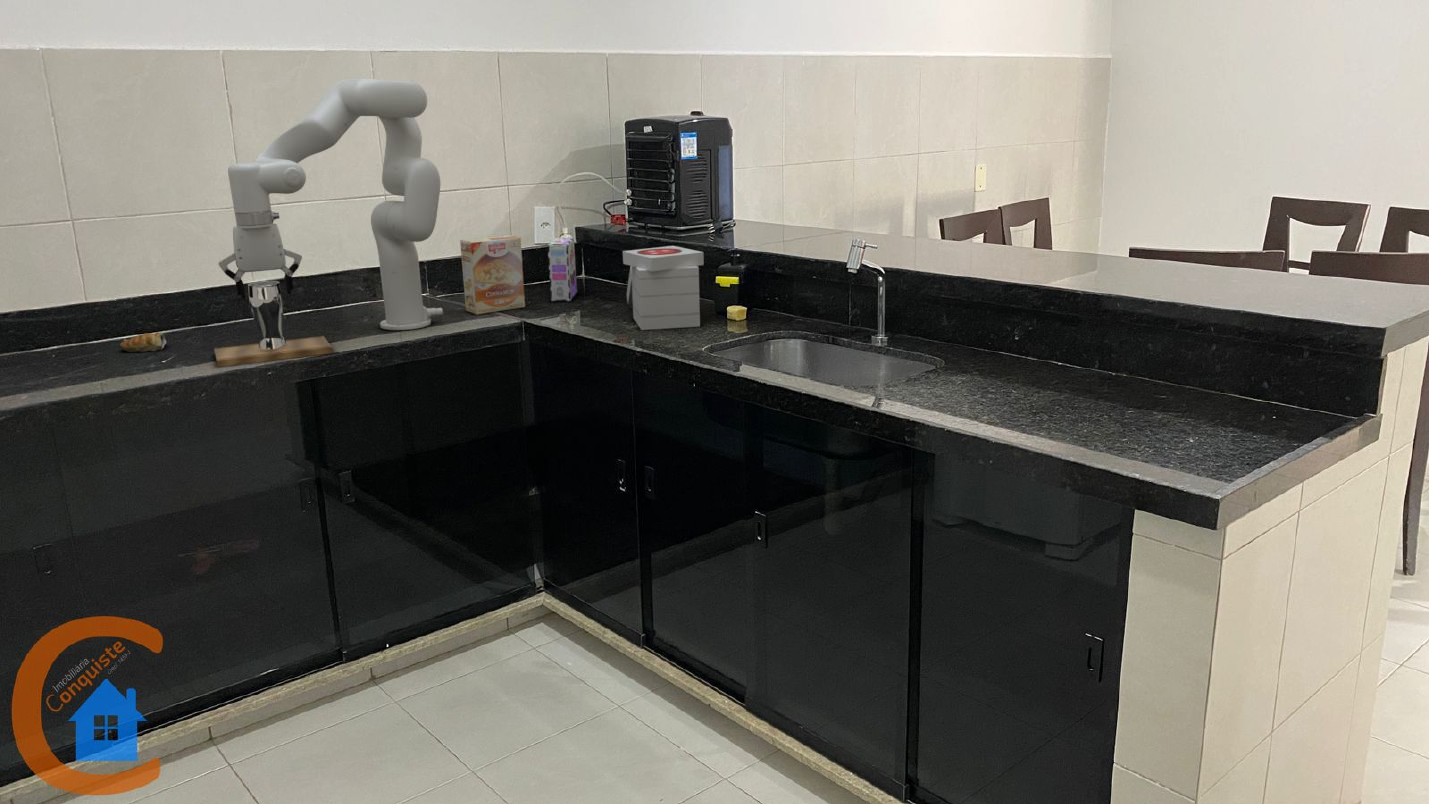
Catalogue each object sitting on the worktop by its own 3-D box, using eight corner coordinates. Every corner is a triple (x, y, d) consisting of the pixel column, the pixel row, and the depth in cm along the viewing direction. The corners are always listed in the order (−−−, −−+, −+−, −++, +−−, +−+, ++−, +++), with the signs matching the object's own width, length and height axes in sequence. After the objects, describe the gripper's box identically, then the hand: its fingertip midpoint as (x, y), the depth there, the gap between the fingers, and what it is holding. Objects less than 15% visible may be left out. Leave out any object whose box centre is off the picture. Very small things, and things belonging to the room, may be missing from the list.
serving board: (324, 341, 246) (323, 335, 246) (332, 353, 235) (331, 346, 235) (215, 354, 236) (214, 348, 235) (218, 367, 225) (216, 360, 224)
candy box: (571, 301, 289) (567, 243, 284) (550, 302, 289) (546, 243, 284) (577, 292, 302) (574, 236, 297) (558, 292, 302) (554, 237, 297)
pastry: (118, 354, 238) (115, 338, 237) (124, 348, 244) (122, 332, 243) (163, 350, 241) (160, 334, 240) (168, 344, 247) (165, 329, 246)
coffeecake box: (476, 315, 274) (470, 242, 268) (465, 311, 279) (458, 239, 273) (526, 307, 283) (521, 236, 277) (514, 303, 288) (508, 234, 282)
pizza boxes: (687, 304, 282) (685, 239, 277) (709, 327, 254) (707, 255, 249) (618, 308, 278) (615, 242, 273) (632, 332, 250) (629, 259, 245)
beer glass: (277, 352, 231) (268, 286, 227) (250, 351, 232) (240, 285, 228) (295, 344, 237) (286, 281, 233) (268, 343, 239) (259, 280, 234)
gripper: (293, 214, 233) (304, 288, 238) (210, 221, 226) (223, 297, 231) (297, 218, 227) (308, 294, 232) (212, 224, 219) (225, 302, 225)
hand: (266, 295), depth 231 cm, fingers open, 9 cm apart
